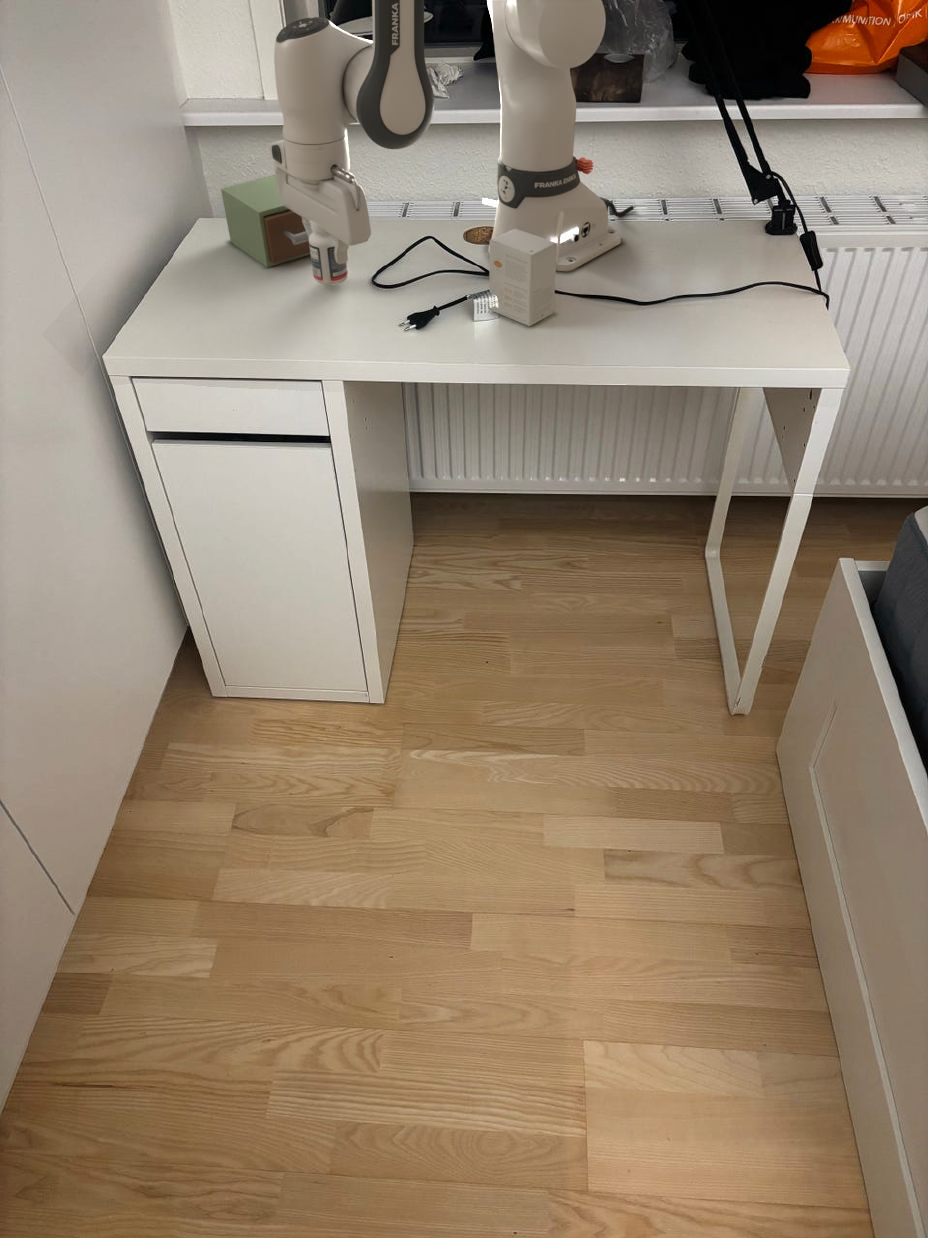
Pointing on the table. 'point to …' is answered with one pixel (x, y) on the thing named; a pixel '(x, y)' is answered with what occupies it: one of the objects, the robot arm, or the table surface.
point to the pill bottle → (325, 258)
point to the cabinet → (252, 215)
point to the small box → (522, 275)
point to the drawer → (285, 236)
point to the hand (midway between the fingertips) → (328, 254)
